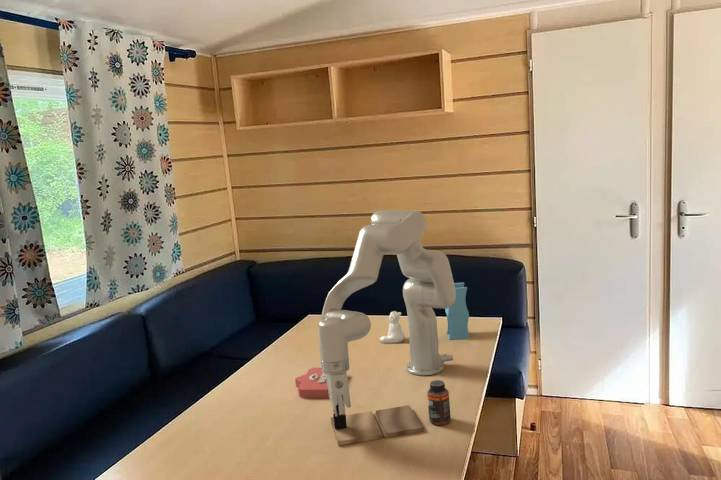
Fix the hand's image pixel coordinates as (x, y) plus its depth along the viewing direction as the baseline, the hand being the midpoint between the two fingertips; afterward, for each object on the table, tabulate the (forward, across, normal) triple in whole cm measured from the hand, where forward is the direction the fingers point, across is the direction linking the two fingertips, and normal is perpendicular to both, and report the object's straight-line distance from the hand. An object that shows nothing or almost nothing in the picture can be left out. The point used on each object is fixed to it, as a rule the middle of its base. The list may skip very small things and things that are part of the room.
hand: (340, 427), depth 166 cm
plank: (+1, 0, -4) cm, 4 cm away
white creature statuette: (+1, +65, -32) cm, 72 cm away
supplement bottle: (+1, -3, -27) cm, 28 cm away
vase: (0, +60, -56) cm, 82 cm away
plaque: (+2, +33, +2) cm, 34 cm away
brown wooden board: (+1, 0, -16) cm, 16 cm away
